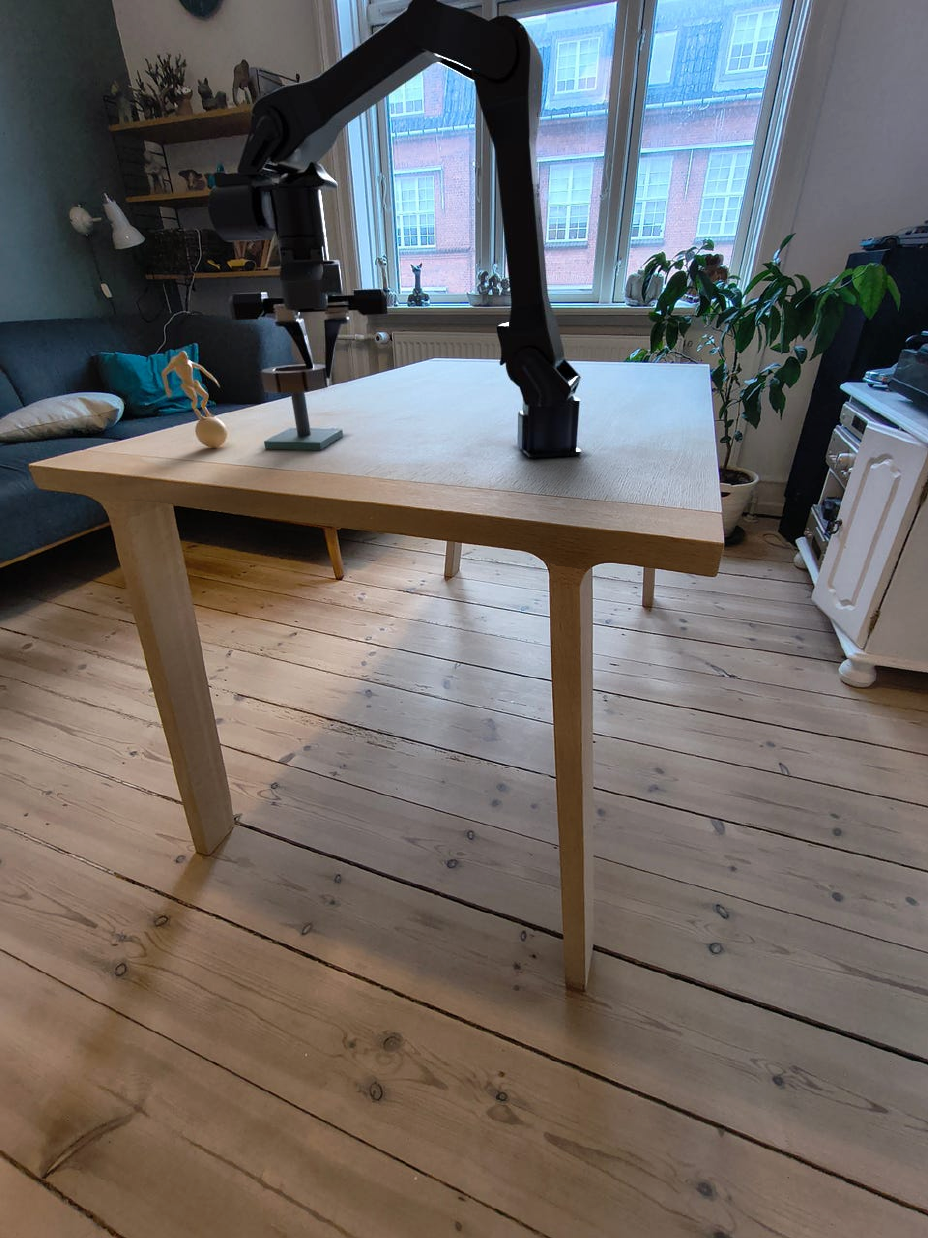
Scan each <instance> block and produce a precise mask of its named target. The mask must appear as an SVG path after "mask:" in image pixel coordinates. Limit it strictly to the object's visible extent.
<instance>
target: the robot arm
mask: <svg viewBox="0 0 928 1238" xmlns="http://www.w3.org/2000/svg"><path fill="white" fill-rule="evenodd" d="M542 59H543V58H542V54H541V52H540V50H539V48H538V47H537V45H536V44H535V42H534V41H533V39H532V37H531V36H530V34H529V33H528V31H527V29H526V28H525V26H524V25H523V24H522V23H521V22H520V21H519V20H518V18H515V17H514V16H510V15H507V14H503V15H497V16H494V17H493V18H491V19H489V20H488V19H485V18H484V17H482V16H480V15H478V14H476V13H473V12H471V11H468V10H466V9H462V8H459V7H456V6H453V5H449V4H445V3H443V2H441V1H439V0H411V1H410V2H409V3H408V5H407V7H406V8H405V9H404V10H403V11H401V12H400V13H399V14H397V15H396V16H395V17H393V18H392V19H391V20H390V21H388V22H387V23H386V24H385V25H383V26H382V27H380V28H379V29H378V30H377V31H375V32H374V33H373V34H372V35H370V36H369V37H367V38H366V39H365V40H364V41H362V42H361V43H359V44H358V45H357V46H356V47H354V48H353V49H352V50H350V51H349V52H348V53H347V54H345V55H344V56H343V57H341V58H340V59H339V60H337V61H336V62H335V63H333V64H332V65H331V66H329V67H328V68H327V69H325V70H324V71H323V72H322V73H321V74H318V76H316V77H313V78H312V79H308V80H306V81H302V82H296V83H292V84H286V85H283V86H281V87H279V88H277V89H275V90H273V91H270V92H268V93H266V94H263V95H262V96H260V97H258V98H257V100H255V102H254V103H253V105H252V107H251V110H250V113H251V120H250V129H249V132H248V135H247V139H246V141H245V144H244V148H243V150H242V153H241V156H240V159H239V162H238V165H237V170H236V172H224V171H217V172H213V174H212V177H213V183H214V185H213V186H212V187H211V189H210V191H209V195H208V205H207V212H208V217H209V220H210V222H211V224H212V227H213V229H214V230H215V232H216V233H217V235H218V236H219V237H220V238H221V239H222V240H223V241H225V242H229V243H231V242H247V241H248V242H249V241H251V242H252V241H265V240H267V241H268V240H271V239H273V238H274V236H276V241H277V247H278V253H279V254H278V255H279V260H280V268H279V276H278V277H279V278H278V279H279V285H280V288H281V294H282V296H281V297H279V296H278V297H269V296H268V293H267V292H265V291H264V292H240V293H232V294H231V295H230V297H229V299H228V306H229V307H228V308H229V311H230V316H231V320H232V321H248V320H249V321H251V320H254V321H255V320H260V318H266V316H267V315H270V314H271V315H272V314H273V315H274V317H275V320H276V321H275V322H274V324H275V327H277V328H280V327H283V328H284V330H286V332H287V333H288V334H289V336H290V337H291V339H292V340H293V342H294V344H295V346H296V347H297V350H298V351H299V353H300V356H301V358H302V360H303V362H304V364H305V365H306V367H307V369H311V368H314V364H315V363H314V358H313V354H312V351H311V345H310V342H309V338H308V333H307V329H306V325H305V321H304V318H300V315H301V313H323V312H324V315H326V318H324V320H323V326H324V328H323V329H324V365H325V367H326V374H327V378H329V379H331V377H332V371H333V370H332V369H333V363H334V358H335V351H336V345H337V342H338V337H339V334H340V330H341V326H342V325H347V324H349V323H350V317H349V316H348V314H350V311H357V312H358V313H359V314H360V315H362V316H376V315H388V302H387V293H386V292H385V291H384V290H383V289H382V288H357V289H356V288H355V289H353V291H352V292H353V294H343V281H342V273H341V266H340V260H339V259H329V258H330V257H329V250H328V241H327V235H326V234H327V233H326V227H325V226H326V225H325V219H324V210H323V201H322V194H321V192H322V191H333V190H337V189H338V182H337V181H336V180H334V179H333V178H332V177H331V176H330V175H329V174H328V173H327V172H326V170H325V168H324V167H323V165H322V164H320V163H319V162H320V160H322V158H323V157H325V155H326V154H328V152H329V151H330V150H331V149H332V148H333V146H334V144H335V143H336V141H337V139H338V136H339V135H340V133H341V131H342V130H344V129H345V127H346V126H347V125H348V124H349V123H351V122H352V121H354V120H356V119H357V118H358V117H360V115H362V114H363V113H365V112H367V110H369V109H371V108H373V106H375V105H376V104H377V103H380V102H381V101H382V100H384V99H385V98H386V97H388V96H389V95H390V94H392V93H393V92H395V91H397V90H398V89H400V87H402V86H404V85H405V84H406V83H408V82H409V81H411V80H412V79H413V78H415V77H416V76H419V74H420V73H421V72H424V71H425V70H426V69H428V68H429V67H430V66H432V65H434V64H436V63H438V64H441V65H442V66H444V67H446V68H449V69H450V70H452V71H453V72H456V73H457V74H460V76H461V75H462V76H463V77H465V78H466V79H469V80H470V81H472V82H474V87H475V92H476V94H477V98H478V102H479V107H480V110H481V113H482V116H483V119H484V121H485V125H486V127H487V130H488V134H489V137H490V139H491V141H492V145H493V148H494V149H493V150H494V154H495V164H496V172H497V182H498V192H499V201H500V209H501V220H502V221H501V222H502V230H503V238H504V239H503V240H504V247H505V256H506V266H507V275H508V286H509V294H510V295H509V296H510V310H509V318H508V322H505V323H501V324H499V325H496V335H497V338H498V342H499V345H500V346H499V347H500V359H499V366H503V365H505V370H506V375H507V376H508V378H509V380H510V381H511V382H512V383H514V384H515V385H516V386H517V387H519V390H520V393H521V396H522V410H521V411H518V413H517V447H518V448H519V449H520V450H521V451H522V452H523V453H524V455H526V457H527V458H529V459H540V458H553V457H569V456H580V455H582V450H581V449H580V448H579V447H577V446H578V434H579V433H578V432H579V417H580V403H581V400H580V399H579V398H578V397H575V396H574V394H576V391H577V390H578V387H579V384H580V383H581V379H582V377H581V375H580V374H579V373H578V372H577V370H576V369H575V368H574V367H573V366H572V365H571V364H570V363H569V361H568V360H567V359H566V358H565V349H564V345H563V342H562V337H561V334H560V330H559V329H560V328H559V324H558V322H557V321H558V320H557V319H556V315H555V313H554V309H553V307H552V304H551V301H550V297H549V291H548V278H547V266H546V255H545V243H544V242H545V241H544V229H543V218H542V217H543V216H542V203H541V191H540V179H539V170H538V169H539V168H538V167H539V166H538V156H537V140H538V134H539V133H538V131H539V127H540V119H541V114H542V102H543V101H542V98H543V84H544V63H543V60H542ZM269 162H271V163H269Z"/></svg>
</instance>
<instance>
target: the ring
mask: <svg viewBox="0 0 928 1238" xmlns="http://www.w3.org/2000/svg"><path fill="white" fill-rule="evenodd" d="M259 373H260V379H261V384H262V388H263V392H265V393H271V394H291V393H299V392H305V393H306V392H313V391H314V392H315V391H319V390H324V389H327V388H329V386H330V378H327V374H326V367H325V364H319V363H314V368H311V369H307V367H306V365H305V363H300V364H299V363H298V364H287V365H278V366H271V367H266V368H263V369H262V370H260V371H259Z"/></svg>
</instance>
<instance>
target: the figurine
mask: <svg viewBox="0 0 928 1238" xmlns="http://www.w3.org/2000/svg"><path fill="white" fill-rule="evenodd" d="M194 368H195V369H197V370H200V371H201V372H202V373H203V374H205V376H206V377H208V378H209V379H210V380H212V381H213V382H214V383H215V384H216V385H217V387H218V388H221V386H220V384H219V382H218V380H217V379H216V378H215V377H214V376H213V375H212V374H211V373H210V372H209V371H207V370H206V369H205V368H204V367H203V366H202V365H200V364H199V363H197V362H193V361H191V360H190V359H189V356H188V354H187V352H186V351H185V350H181V351H180V352H179V353H178V354H176V355H174V356H172V357H171V359H170V362H169V363H168V364H167V366H166V367H165V368H164V369H163V370H162V371H161V378H162V381H163V385H164V391H165V393H166V396H167V397H173V390H172V389H170V388H169V382H168V377H167V375H168V374H170V373H171V372H172V371H174V372H175V373H176V375H177V376H178V377H179V379H181V384H180V388H181V390H182V391H184V393H185V394H186V396H187V397H188V398H190V399H191V400H192V401H191V402H190V406H191V408H192V410H193V412H194V413H195V415H196V416H197V417H198V422H196V425H195V427H194V428H195V429H194V430H195V431H194V432H195V436H196V438H197V440H198V441H199V442H200V443H201V444H202V445H203V446H205V447H208V448H218V447H221V446H222V445H224V444H225V442H226V440H227V439H228V429H227V426H226V425H225V423H224V422H223V421H222V420H220V419H219V418H218V417H215V415H214V414H212V413H210V412H209V410H208V409H207V407H206V405H207V404H208V400H209V392H207V391H206V390H205V389H204V388H203V387H202V385H201V383H200V382H199V380H198V379H195V380H194V377H193V376H194V374H193V371H194ZM198 395H199V396H201V397H202V398H203V399H201V401H200V405H201V409H202V411H203V413H204V414H205V415H206V416H204V415H202V413H201V412H200V411H199V409H198V408H197V406H198Z"/></svg>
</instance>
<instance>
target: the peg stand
mask: <svg viewBox="0 0 928 1238" xmlns="http://www.w3.org/2000/svg"><path fill="white" fill-rule="evenodd" d="M290 399H291V404H292V410H293V415H294V422H295V427H290V428H288V429H285V430H283V431H282V432H280V433H278V434H276V435H274V436H271V437H270V438H268V439H266V440H264V441H263V445H264V448H265V450H266V449H267V450H300V451H302V450H303V451H304V450H305V451H322V450H324V449H325V448H327V447H328V446H329V445H331V444H332V443H334V442H336V441H338V440H339V439H341V438H342V437H344V430H343V428H314V427H313V428H312V427H311V425H310V418H309V413H308V412H309V411H308V406H307V405H308V404H307V400H306V399H307V398H306V391H305V392H299V393H290Z"/></svg>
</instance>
